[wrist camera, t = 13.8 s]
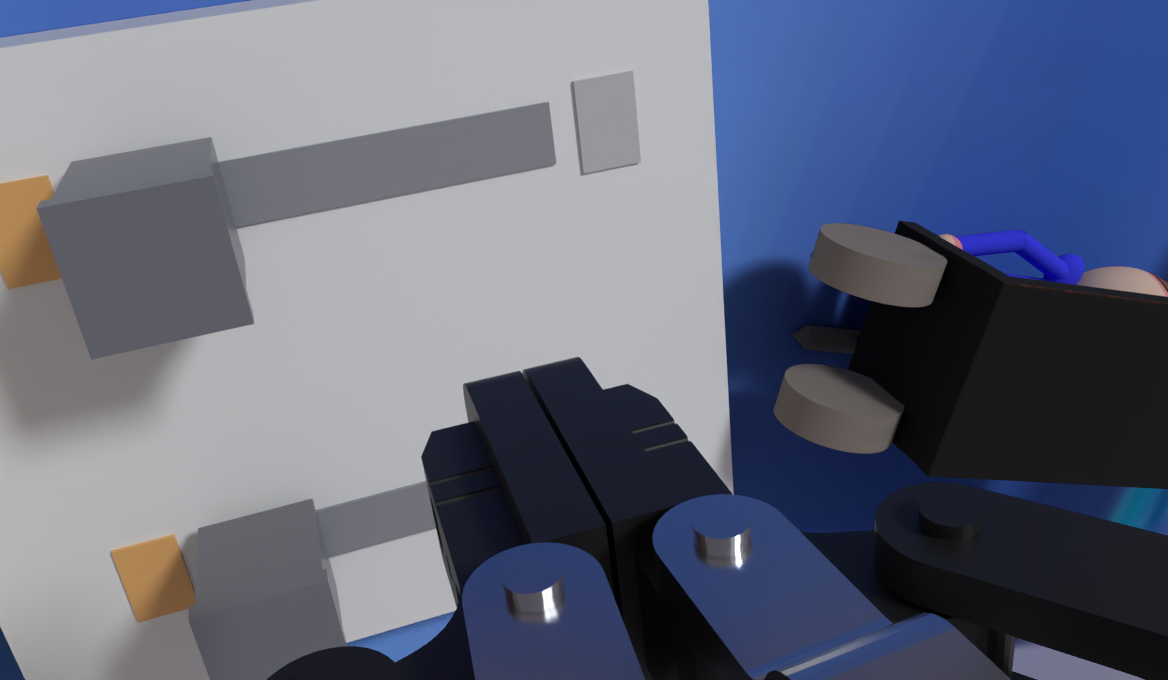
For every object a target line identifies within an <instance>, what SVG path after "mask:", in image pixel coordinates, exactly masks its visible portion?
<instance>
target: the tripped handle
mask: <svg viewBox="0 0 1168 680" xmlns="http://www.w3.org/2000/svg"><path fill="white" fill-rule="evenodd" d="M36 209H37V212H38V214H39V217H40V220H41V223H42V225H43V228H44V231H45V234H46V236H47V239H48V242H49V245H50V247H51V250H52V253H53V256H54V258H55V261H56V264H57V267H58V269H59V272H60V275H61V278H62V280H63V283H64V286H65V289H66V291H67V294H68V297H69V300H70V302H71V305H72V308H73V311H74V313H75V316H76V319H77V322H78V325H79V327H80V330H81V333H82V336H83V338H84V341H85V344H86V347H87V349H88V352H89V355H90V358H91V360H92V359H97V358H101V357H106V356H110V355H115V354H119V353H124V352H128V351H133V350H138V349H142V348H147V347H151V346H156V345H160V344H165V343H169V342H174V341H179V340H183V339H188V338H192V337H197V336H201V335H206V334H211V333H215V332H220V331H224V330H229V329H233V328H238V327H242V326H247V325H252V324H254V315H253V311H252V308H251V304H250V300H249V297H248V293H247V290H246V271H245V258H244V254H243V250H242V247H241V243H240V240H239V236H238V232H237V229H236V225H235V221H234V218H233V214H232V210H231V207H230V203H229V199H228V196H227V192H226V188H225V185H224V181H223V178H222V174H221V170H220V167H219V163H218V159H217V156H216V152H215V148H214V145H213V141H212V137H208V138H202V139H197V140H191V141H185V142H180V143H174V144H169V145H163V146H157V147H152V148H146V149H140V150H135V151H129V152H123V153H118V154H112V155H106V156H101V157H95V158H89V159H84V160H78V161H72V162H71V163H70V165H69V167H68V168H67V170H66V172H65V174H64V176H63V178H62V180H61V182H60V183H59V185H58V187H57V189H56V191H55V193H54V195H53V196H52V198H51V199H49V200H43V201H40V203H39V205H38V206H37V208H36Z"/></svg>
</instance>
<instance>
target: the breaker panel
mask: <svg viewBox="0 0 1168 680" xmlns="http://www.w3.org/2000/svg"><path fill="white" fill-rule="evenodd" d="M208 137H212V141H213V145H214V148H215V152H216V156H217V159H218V163H219V167H220V170H221V174H222V178H223V181H224V185H225V188H226V192H227V196H228V199H229V203H230V207H231V210H232V214H233V218H234V221H235V225H236V229H237V232H238V236H239V240H240V243H241V247H242V250H243V254H244V258H245V271H246V290H247V293H248V297H249V300H250V304H251V308H252V311H253V315H254V324H252V325H247V326H242V327H238V328H233V329H229V330H224V331H220V332H215V333H211V334H206V335H201V336H197V337H192V338H188V339H183V340H179V341H174V342H169V343H165V344H160V345H156V346H151V347H147V348H142V349H138V350H133V351H128V352H124V353H119V354H115V355H110V356H106V357H101V358H97V359H92V360H91V358H90V355H89V352H88V349H87V347H86V344H85V341H84V338H83V336H82V333H81V330H80V327H79V325H78V322H77V319H76V316H75V313H74V311H73V308H72V305H71V302H70V300H69V297H68V294H67V291H66V289H65V286H64V283H63V280H62V278H61V275H60V272H59V269H58V267H57V264H56V261H55V258H54V256H53V253H52V250H51V247H50V245H49V242H48V239H47V236H46V234H45V231H44V228H43V225H42V223H41V220H40V217H39V214H38V212H37V209H36V208H37V206H38V205H39V203H40V201H43V200H49V199H51V198H52V196H53V195H54V193H55V191H56V189H57V187H58V185H59V183H60V182H61V180H62V178H63V176H64V174H65V172H66V170H67V168H68V167H69V165H70V163H71V162H72V161H78V160H84V159H89V158H95V157H101V156H106V155H112V154H118V153H123V152H129V151H135V150H140V149H146V148H152V147H157V146H163V145H169V144H174V143H180V142H185V141H191V140H197V139H202V138H208ZM575 357H580V358H581V359H582V360H583V362H584V363H585V365H586V366H587V367H588V369H589V370H590V372H591V373H592V375H593V376H594V378H595V379H596V380H597V382H598V383H599V385H600V386H601V388H602V389H603V390H604V389H608V388H612V387H616V386H620V385H625V384H629V385H631V386H633V387H635V388H637V389H640V390H642V391H644V392H646V393H648V394H650V395H652V396H654V397H656V398H658V400H659V401H660V402H661V403H662V405H663V406H664V407H665V408H666V410H667V411H668V412H669V414H670V415H671V416H672V417H673V419H674V422H675V424H678V425H679V426H680V428H681V429H682V430H683V431H684V433H685V434H686V435H687V437H688V441H691V442H692V443H693V444H694V445H695V447H696V448H697V449H698V450H699V452H700V453H701V454H702V456H703V457H704V458H705V459H706V461H707V462H708V463H709V464H710V466H711V467H712V468H713V470H714V471H715V472H716V473H717V475H718V476H719V477H720V479H721V480H722V481H723V482H724V484H725V485H726V486H727V487H728V489H729V490H730V491H731V493H732V494H733V495H734V493H733V474H732V454H731V435H730V416H729V396H728V377H727V358H726V338H725V319H724V300H723V280H722V261H721V241H720V222H719V203H718V183H717V164H716V145H715V125H714V106H713V87H712V67H711V48H710V29H709V9H708V0H251V1H245V2H238V3H231V4H224V5H218V6H211V7H204V8H198V9H191V10H184V11H177V12H171V13H164V14H157V15H150V16H144V17H137V18H130V19H124V20H117V21H110V22H103V23H97V24H90V25H83V26H76V27H70V28H63V29H56V30H50V31H43V32H36V33H29V34H23V35H16V36H9V37H2V38H0V627H1V629H2V631H3V633H4V636H5V638H6V640H7V642H8V644H9V646H10V648H11V651H12V653H13V655H14V657H15V659H16V661H17V663H18V665H19V668H20V670H21V672H22V674H23V676H24V678H25V680H210V678H209V676H208V673H207V670H206V667H205V665H204V662H203V659H202V656H201V654H200V651H199V648H198V645H197V642H196V640H195V637H194V634H193V631H192V629H191V626H190V623H189V620H188V617H189V606H192V605H195V587H196V563H197V539H198V528H201V527H205V526H209V525H212V524H216V523H220V522H224V521H228V520H232V519H235V518H239V517H243V516H247V515H251V514H255V513H258V512H262V511H266V510H270V509H274V508H278V507H281V506H285V505H289V504H293V503H297V502H301V501H304V500H308V499H312V498H313V502H314V505H315V509H316V513H317V516H318V520H319V524H320V527H321V531H322V535H323V538H324V542H325V546H326V549H327V553H328V557H329V560H330V564H331V568H332V571H333V575H334V579H335V582H336V586H337V593H338V599H339V606H340V612H341V618H342V625H343V631H344V635H345V638H346V642H347V643H348V642H351V641H355V640H358V639H361V638H365V637H368V636H372V635H375V634H378V633H382V632H385V631H388V630H392V629H395V628H399V627H402V626H405V625H409V624H412V623H416V622H419V621H422V620H426V619H429V618H433V617H436V616H439V615H443V614H446V613H450V612H453V611H456V609H457V607H456V604H455V600H454V597H453V593H452V590H451V586H450V583H449V579H448V576H447V572H446V569H445V565H444V562H443V558H442V554H441V549H440V545H439V540H438V535H437V530H436V526H435V521H434V516H433V511H432V507H431V502H430V497H429V492H428V488H427V483H426V478H425V473H424V468H423V464H422V459H421V456H422V454H423V451H424V449H425V446H426V444H427V441H428V439H429V437H430V434H431V432H432V431H436V430H440V429H444V428H448V427H452V426H456V425H460V424H464V423H468V417H467V412H466V406H465V401H464V394H463V384H464V383H468V382H473V381H477V380H481V379H486V378H490V377H494V376H498V375H503V374H507V373H511V372H516V371H520V372H521V373H522V372H523V370H524V369H528V368H532V367H536V366H540V365H545V364H549V363H553V362H557V361H562V360H566V359H570V358H575Z"/></svg>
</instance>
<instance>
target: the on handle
mask: <svg viewBox="0 0 1168 680" xmlns="http://www.w3.org/2000/svg"><path fill="white" fill-rule="evenodd" d="M188 620H189V623H190V626H191V629H192V631H193V634H194V637H195V640H196V642H197V645H198V648H199V651H200V654H201V656H202V659H203V662H204V665H205V667H206V670H207V673H208V676H209V678H210V680H266V679H267V678H269V677H270V676H271V675H272V674H274V673H275V672H276V671H277V670H279V669H280V668H282V667H284V666H285V665H287V664H288V663H290V662H292V661H294V660H296V659H298V658H300V657H302V656H305V655H308V654H310V653H313V652H316V651H320V650H324V649H328V648H334V647H342V646H348V645H347V642H346V638H345V635H344V631H343V625H342V618H341V612H340V606H339V599H338V593H337V586H336V582H335V579H334V575H333V571H332V568H331V564H330V560H329V557H328V553H327V549H326V546H325V542H324V538H323V535H322V531H321V527H320V524H319V520H318V516H317V513H316V509H315V505H314V502H313V498H312V499H308V500H304V501H301V502H297V503H293V504H289V505H285V506H281V507H278V508H274V509H270V510H266V511H262V512H258V513H255V514H251V515H247V516H243V517H239V518H235V519H232V520H228V521H224V522H220V523H216V524H212V525H209V526H205V527H201V528H198V539H197V563H196V587H195V605H192V606H189V617H188Z"/></svg>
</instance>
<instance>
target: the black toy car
mask: <svg viewBox="0 0 1168 680" xmlns="http://www.w3.org/2000/svg"><path fill="white" fill-rule="evenodd" d="M1007 252H1016V253H1017V254H1018V255H1020V256H1021V257H1022V258H1024V259H1025V260H1026V261H1028V262H1029V263H1030V264H1032V265H1033V266H1034V267H1036V268H1037V269H1038V270H1040V271H1041V272H1043V273H1044V277H1043V279H1042V278H1034V277H1026V276H1018V275H1010V274H1004V273H1002V272H1001V271H999V270H997V269H995V268H994V267H992V266H990V265H988V264H987V263H985V262H983V261H981V260H980V259H978V258H976V257H974V256H980V255H989V254H998V253H1007ZM808 269H809V271H810V273H811V274H812V275H813V276H815V277H816V278H817V279H819V280H820V281H822V282H824V283H825V284H827V285H829V286H831V287H833V288H836V289H838V290H840V291H843V292H845V293H848V294H851V295H854V296H857V297H860V298H863V299H867V300H870V301H871V304H870V307H869V310H868V313H867V316H866V319H865V321H864V324H863V327H862V330H861V331H860V330H851V329H841V328H831V327H822V326H812V325H806V326H804V327H803V328H801V329H800V330H798V331H797V332H795V333H794V334H792V336H793V337H794V338H795V339H796V340H797V341H798V342H799V343H800V344H801V345H802V346H803V347H804V349H807V350H817V351H828V352H838V353H848V354H853V356H852V359H851V362H850V365H849V368H848V370H846V369H843V368H838V367H834V366H828V365H821V364H800V365H795V366H792V367H790V368H788V369H787V370H786V372H785V375H784V378H783V381H782V384H781V387H780V390H779V394H778V397H777V400H776V403H775V406H774V414H775V416H776V418H777V419H778V420H779V421H780V423H781V424H783V425H784V426H785V427H786V428H787V429H789V430H790V431H792V432H793V433H795V434H797V435H798V436H800V437H802V438H804V439H806V440H809V441H811V442H813V443H816V444H819V445H821V446H824V447H828V448H831V449H835V450H839V451H844V452H850V453H862V454H869V453H877V452H881V451H884V450H886V449H888V448H889V447H890V445H891V443H892V442H893V443H894V444H895V445H896V446H897V447H898V448H899V449H900V450H901V451H902V452H904V453H905V454H906V455H907V456H908V457H909V458H910V459H911V460H912V461H913V462H915V463H916V464H917V466H918V467H919V468H920V469H921V470H922V471H923V472H924V473H925V474H926V475H927V476H936V477H955V478H973V479H992V480H1010V481H1029V482H1047V483H1066V484H1084V485H1103V486H1121V487H1140V488H1158V489H1168V283H1167V282H1166V281H1164V280H1163V279H1161V278H1159V277H1158V276H1156V275H1154V274H1151V273H1149V272H1146V271H1144V270H1140V269H1136V268H1131V267H1121V266H1111V267H1102V268H1097V269H1092V270H1089V271H1086V272H1084V264H1083V261H1082V259H1081V258H1080V257H1079V256H1077V255H1075V254H1064V255H1061V256H1059V257H1057V256H1056V255H1055V254H1053V253H1052V252H1051V251H1050V250H1048V249H1047V248H1046V247H1044V246H1043V245H1042V244H1040V243H1039V242H1038V241H1036V240H1035V239H1034V238H1032V237H1031V236H1030V235H1029V234H1027V233H1026V232H1025V231H1023V230H1011V231H1001V232H992V233H982V234H973V235H963V236H953V235H949V234H942V235H939V236H938V235H936V234H934V233H932V232H930V231H929V230H927V229H925V228H923V227H922V226H920V225H918V224H916V223H913V222H905V221H899V223H898V225H897V228H896V231H895V234H894V233H890V232H887V231H883V230H879V229H875V228H870V227H865V226H859V225H853V224H842V223H831V224H825V225H823V226H821V228H820V231H819V234H818V238H817V241H816V244H815V247H814V250H813V254H812V257H811V260H810V263H809V266H808Z"/></svg>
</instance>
